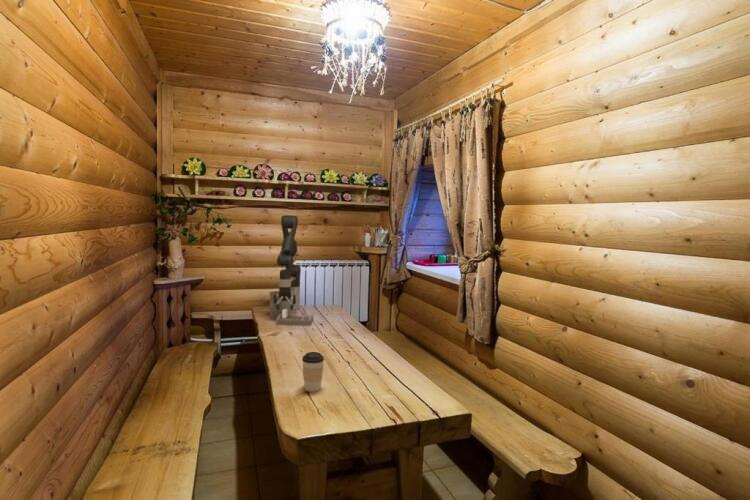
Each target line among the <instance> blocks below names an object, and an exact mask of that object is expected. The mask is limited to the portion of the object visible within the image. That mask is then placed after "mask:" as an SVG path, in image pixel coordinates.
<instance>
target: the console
mask: <svg viewBox="0 0 750 500" xmlns="http://www.w3.org/2000/svg"><path fill="white" fill-rule="evenodd" d="M313 322H314V313H313V314H310V315H309V316H306V315H305V316H304V315H301V316H300V315H293V316H287V317H286V318H282V313H281V314H280V315H279V316H278V317H276V325H277V326H300V327H301V326H304V327H305V326H306V327H307V326H309V327H310V326H312V324H313Z"/></svg>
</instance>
